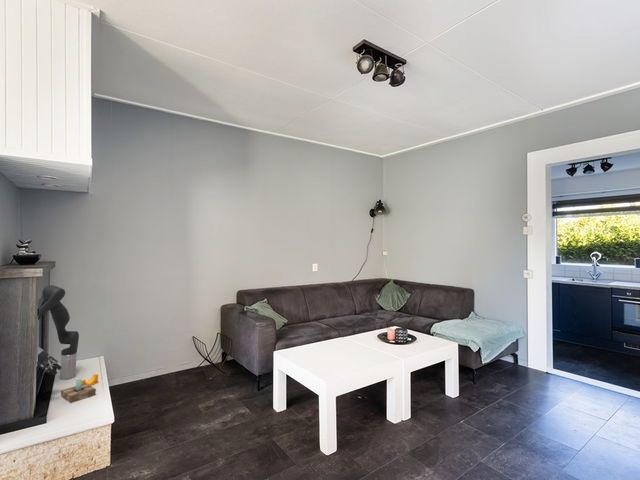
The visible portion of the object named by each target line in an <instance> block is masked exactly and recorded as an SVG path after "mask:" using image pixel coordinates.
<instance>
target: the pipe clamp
mask: <svg viewBox="0 0 640 480" xmlns="http://www.w3.org/2000/svg"><path fill="white" fill-rule="evenodd" d="M81 380H82V384H85V383H86V384H88V385H90V386H91V387H93V386H94V385H97V384H99V374H98V373H93V374H92V377H91V378H90V379H88V380H86V379H82V378H81Z"/></svg>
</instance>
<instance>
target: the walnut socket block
mask: <svg viewBox="0 0 640 480" xmlns="http://www.w3.org/2000/svg"><path fill="white" fill-rule="evenodd" d="M96 392H97V389H96V388H95V387H93V386H90V385H88V384H86V383H85V384H82V388H81V391H78V392H76V385H75V386H72V387H68V388H65V389H61V391H60V398H62V399H64V400H65V401H67V403H70V404H72V403H75V402H79V401H82V400H85V399H87V398H91V397H94V396H96Z"/></svg>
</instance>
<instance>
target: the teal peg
mask: <svg viewBox="0 0 640 480" xmlns="http://www.w3.org/2000/svg"><path fill="white" fill-rule="evenodd" d="M75 386H76V392H78V391H81V388H82V378H81V379H76V382H75Z"/></svg>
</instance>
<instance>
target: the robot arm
mask: <svg viewBox="0 0 640 480" xmlns="http://www.w3.org/2000/svg"><path fill="white" fill-rule="evenodd" d="M65 295H66V290H65V289H64V288H63V287H60V286H56V285H53V284H49V285H46V286H44V287H43V289H42V298H43V299H44V301H45V302H44V303H43V304H42V305H40V306H38V307H39V317H38V321H39V320H40V319H41V318H42V317H43V316H44V315H45V314H46V313H48V311H49V312H50V314H51V317H52V321H53V324H54V325H55V326H54V327H55V330H56V332H57V338H58V342H59V344H61V345H69V346H68V347H65V348H63V349H62V350H60V351H61V352H60V364H59V362H58V360H57V359H55V358H54V357H53V356H51V355H50V354H49V353H48V352H46V351H45V350H44V349H43V348H41V347H40V346H38V362H37V364H36V365H39V364H40V365H39V368H41V369H42V370H43V371H44V372H45V373H50V374H51V375H53V376H55V375H57V374H58V371H59V380H70V379H73V378H75V377H76V373H77V372H76V370H77V368H76V367H77V354H78V353H77V352H78V348H79V340H80V334H79V332H78V331H76V330H66V326H67V325H68V323H69V322H70V319H71V317H70V314H69V310H68V309H67V308H66V306H65V305H64V304H63V303H62V302H61V301H62V299H63V298H64V297H65ZM53 367H54V368H55V369H57V370H58V371H57V370H55V369H54V368H53Z"/></svg>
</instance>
